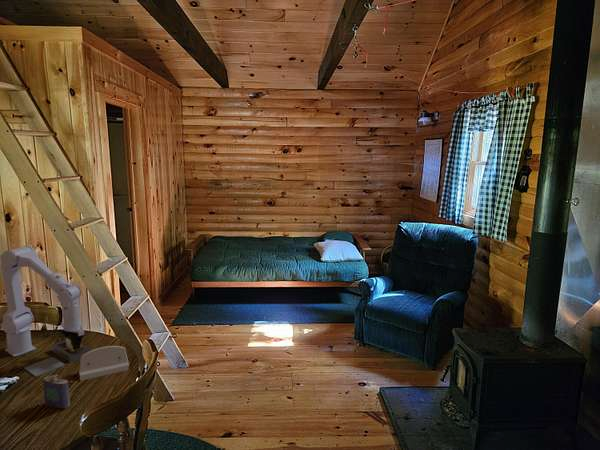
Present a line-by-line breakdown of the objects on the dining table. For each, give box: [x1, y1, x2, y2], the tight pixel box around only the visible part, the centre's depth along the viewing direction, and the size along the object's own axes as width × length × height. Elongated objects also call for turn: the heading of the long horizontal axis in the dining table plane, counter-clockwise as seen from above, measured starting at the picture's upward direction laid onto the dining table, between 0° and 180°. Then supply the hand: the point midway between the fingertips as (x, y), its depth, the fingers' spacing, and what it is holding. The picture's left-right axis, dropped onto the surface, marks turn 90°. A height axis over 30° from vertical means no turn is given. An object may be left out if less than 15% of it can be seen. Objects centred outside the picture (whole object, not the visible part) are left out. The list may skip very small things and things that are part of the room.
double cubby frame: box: [50, 339, 91, 363], centre depth 156 cm, size 16×8×2 cm, turn 56°
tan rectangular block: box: [65, 336, 83, 354], centre depth 154 cm, size 4×4×8 cm
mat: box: [23, 356, 66, 378], centre depth 145 cm, size 10×10×1 cm
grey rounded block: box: [78, 345, 130, 382], centre depth 143 cm, size 17×5×10 cm, turn 118°
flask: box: [42, 373, 71, 410], centre depth 122 cm, size 9×3×11 cm, turn 74°
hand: (74, 347), depth 154 cm, fingers closed on tan rectangular block, 4 cm apart
